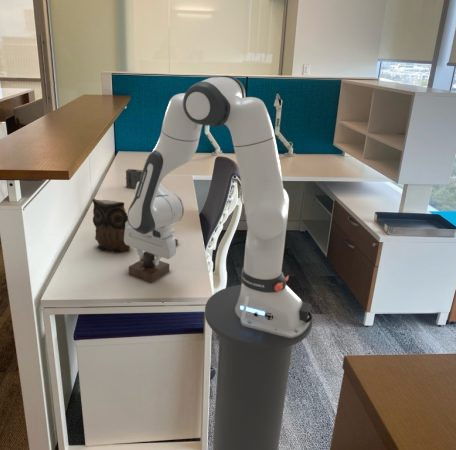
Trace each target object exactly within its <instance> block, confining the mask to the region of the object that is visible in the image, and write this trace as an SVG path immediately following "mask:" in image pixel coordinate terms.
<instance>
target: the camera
mask: <svg viewBox="0 0 456 450" xmlns="http://www.w3.org/2000/svg"><path fill="white" fill-rule="evenodd" d="M142 172H143V169H133V168H128V169H126V170H125V184H126V185H125V187H126V188H128V189H135V190H136V185H137V183H138V182H139V181H140V178H141V175H142Z"/></svg>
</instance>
